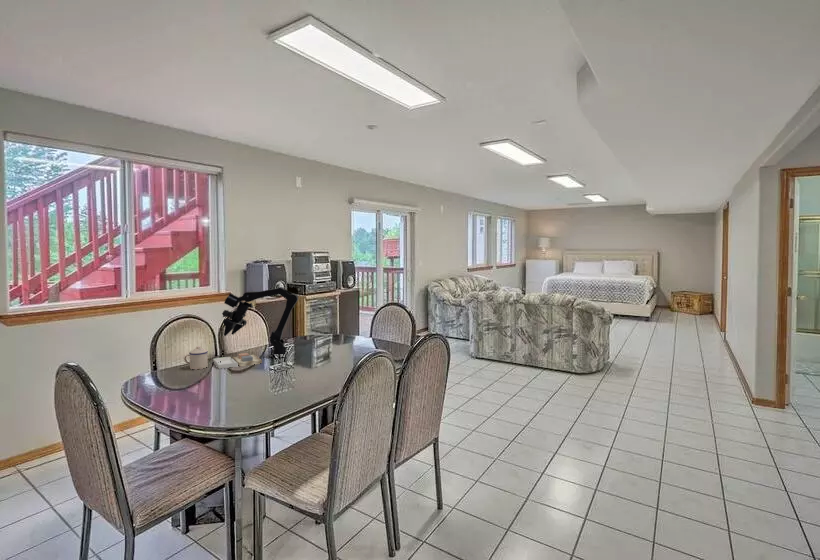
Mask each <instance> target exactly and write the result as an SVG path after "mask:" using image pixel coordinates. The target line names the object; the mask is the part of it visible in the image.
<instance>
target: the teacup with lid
mask: <svg viewBox="0 0 820 560" xmlns="http://www.w3.org/2000/svg"><path fill="white" fill-rule="evenodd" d="M208 352H209V351H208V349H205V348H202V347H201V346H200V345H198V346H196V347H195V348H194V349H192V350H190V351H189V352H188V354H186V355H184V357H183V361H184V362H185V363H186V364H188V365H189V369H191V370H192V369H195V370H194V371H198V370H197V369H200V370H204V369H203V368H205V369H207V368H208V366H209V365H208V363H209V362H208V361H209V359H208ZM187 357H189V361H188V360H187ZM206 367H207V368H206Z"/></svg>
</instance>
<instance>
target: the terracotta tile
mask: <svg viewBox="0 0 820 560" xmlns="http://www.w3.org/2000/svg"><path fill="white" fill-rule="evenodd" d="M249 355H250V354H249V353H248V352H242V353H237V357H238V358H240V359H241V356H249Z"/></svg>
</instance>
